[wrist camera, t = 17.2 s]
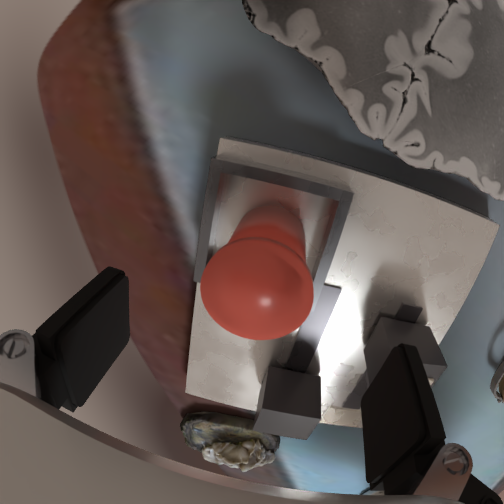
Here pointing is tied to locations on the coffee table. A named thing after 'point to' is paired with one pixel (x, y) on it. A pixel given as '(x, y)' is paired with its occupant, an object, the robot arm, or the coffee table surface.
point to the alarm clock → (500, 377)
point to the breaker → (288, 404)
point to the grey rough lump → (229, 440)
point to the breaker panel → (332, 270)
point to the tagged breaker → (399, 332)
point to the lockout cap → (260, 277)
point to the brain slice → (409, 74)
